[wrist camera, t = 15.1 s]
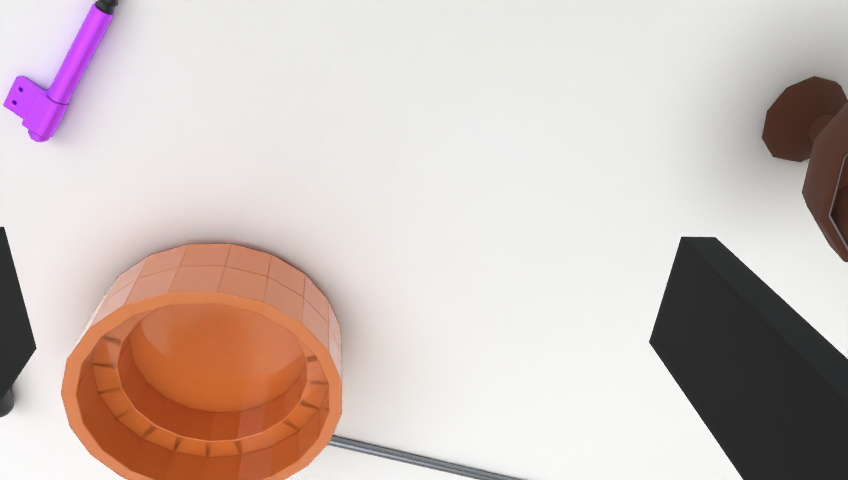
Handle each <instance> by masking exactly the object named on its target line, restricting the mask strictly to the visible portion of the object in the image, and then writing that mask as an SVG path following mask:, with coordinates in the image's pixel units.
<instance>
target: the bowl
mask: <svg viewBox="0 0 848 480" xmlns="http://www.w3.org/2000/svg"><path fill="white" fill-rule="evenodd" d="M61 396H62V399H63V403H64V407H65V411H66V414H67V418H68V422H69V426H70V428H71V429H72V430H73V432H74V433H75V434H76V436H77V437H78V438H79V440H80V441H81V442H82V444H83V445H84V446H85V448H86V449H87V450H88V452H89V453H90V454H91V455H92V456H93V457H95V458H96V459H97V460H99V461H100V462H102V463H103V464H104V465H106V466H107V467H109V468H110V469H111V470H113V471H114V472H116V473H117V474H118V475H120V476H121V477H123V478H125V479H127V480H285V479H286V478H288V477H290V476H292V475H293V474H295V473H297V472H298V471H300V470H302V469H304V468H305V467H306V466H308V465H309V464H310V463H311V462H312V461H313V460H314V458H315V457H316V456H317V455H318V454H319V453H320V452H321V451H322V450H323V449H324V448H325V447H326V446H327V445H328V444H329V442H330V440H331V438H332V436H333V433H334V431H335V429H336V426H337V424H338V421H339V419H340V417H341V414H342V362H341V330H340V327H339V324H338V322H337V319H336V317H335V314H334V312H333V309H332V307H331V304H330V302H329V300H328V299H327V298H326V297H325V296H324V295H323V293H322V292H321V291H320V290H319V289H318V288H317V287H316V286H315V285H314V283H313V282H312V281H311V280H310V279H309V278H308V277H307V276H306V275H305V274H304V273H303V272H301V271H299V270H298V269H296V268H294V267H292V266H291V265H289V264H287V263H286V262H284V261H282V260H281V259H279V258H277V257H275V256H274V255H271V254H269V253H265V252H261V251H257V250H253V249H249V248H246V247H242V246H238V245H234V244H187V245H183V246H180V247H176V248H173V249H169V250H166V251H163V252H159V253H156V254H152V255H150V256H148V257H146V258H145V259H143V260H142V261H140V262H139V263H137V264H136V265H134V266H133V267H132V268H130V269H129V270H127V271H126V272H124V273H123V274H121V275H120V276H118V277H117V279H116V280H115V281H114V283H113V284H112V286H111V287H110V289H109V290H108V291H107V293H106V294H105V296H104V297H103V299H102V300H101V302H100V303H99V304H98V306H97V308H96V310H95V311H94V313H93V315H92V317H91V318H90V320H89V322H88V324H87V325H86V327H85V329H84V330H83V332H82V334H81V336H80V337H79V339H78V341H77V343H76V344H75V346H74V348H73V350H72V351H71V353H70V355H69V356H68V358H67V362H66V367H65V373H64V378H63V384H62V389H61Z"/></svg>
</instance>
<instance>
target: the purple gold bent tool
mask: <svg viewBox="0 0 848 480" xmlns="http://www.w3.org/2000/svg"><path fill="white" fill-rule="evenodd" d="M117 5H118V0H97V1H96V2H95V4H93V5H92V7H91V9H90V11H89V13H88V15H87V17H86V19H85V21H84V22H83V24H82V26H81V28H80V30H79V32H78V34H77V36H76V38H75V40H74V42H73V44H72V46H71V48H70V50H69V52H68V54H67V56H66V58H65V60H64V62H63V64H62V65H61V67H60V69H59V71H58V73H57V75H56V77H55V79H54V81H53V83H52V85H51V87H50V89H49V90H45V91H44V90H43V89H41V88H40V87H38V86H37V85H35V84H34V83H32V82H31V81H29V80H28V79H27V78H25V77H24V76H21V77H17V78H16V80H15V82H14V84H13V86H12V88H11V90H10V92H9V94H8V96H7V98H6V100H5V102H4V104H3V105H4V106H5V107H6V108H8V109H9V110H11V111H12V112H14V113H15V114H17V115H18V116H20V117H21V118H23V119H24V120H23V122H22V125H23V126H25V127H26V128H28V129H29V130H28V133H29V135H30V137H31V139H33V140H34V141H36V142H43V141H47V140H48V139H49V137H52V136H53V134H54V132H55V130H56V128H57V126H58V124H59V122H60V120H61V119H62V117H63V115H64V113H65V111H66V109H67V107H68V105H69V103H68V101H69V99H70V97H71V95H72V93H73V92H74V90H75V88H76V86H77V84H78V82H79V80H80V78H81V76H82V74H83V73H84V71H85V69H86V67H87V65H88V63H89V61H90V59H91V57H92V55H93V54H94V52H95V50H96V48H97V46H98V44H99V42H100V40H101V38H102V36H103V35H104V33H105V31H106V29H107V27H108V25H109V23H110V21H111V19H112V17H113V12H114V7H115V6H117Z"/></svg>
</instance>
